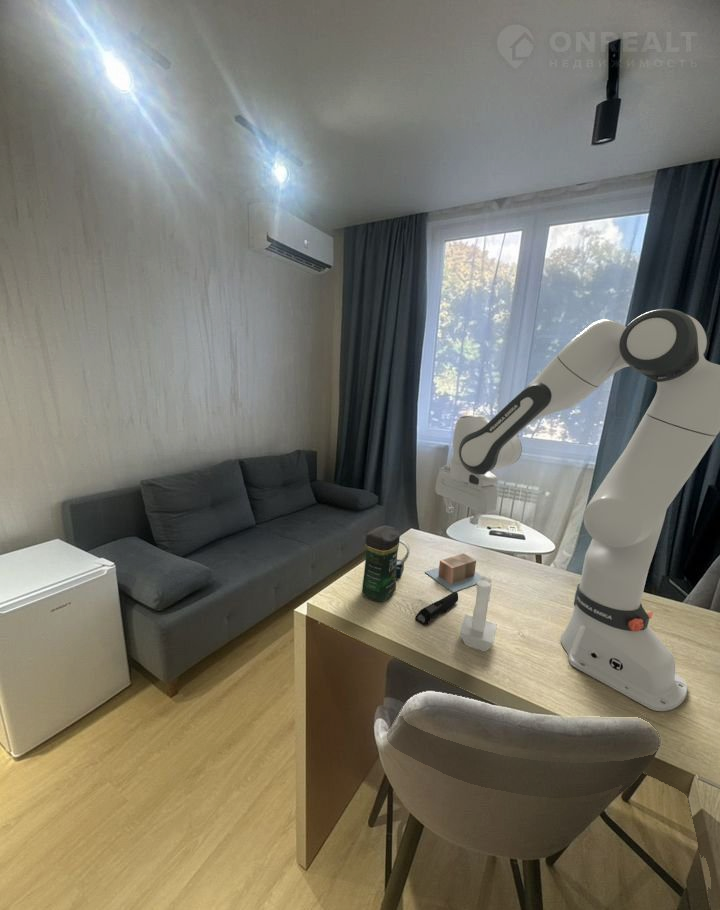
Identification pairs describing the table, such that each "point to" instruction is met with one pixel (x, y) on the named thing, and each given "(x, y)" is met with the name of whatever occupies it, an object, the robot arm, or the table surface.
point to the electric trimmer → (436, 608)
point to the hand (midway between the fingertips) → (461, 517)
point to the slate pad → (457, 585)
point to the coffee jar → (380, 563)
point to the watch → (401, 562)
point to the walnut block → (457, 568)
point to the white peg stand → (479, 620)
